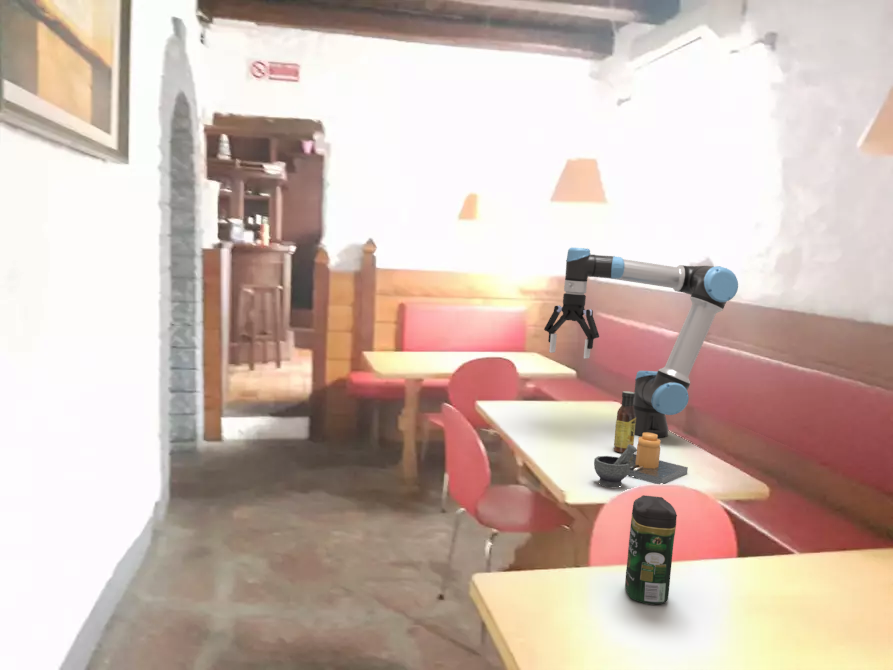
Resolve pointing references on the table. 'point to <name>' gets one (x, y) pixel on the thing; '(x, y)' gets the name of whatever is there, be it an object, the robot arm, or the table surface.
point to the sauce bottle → (625, 423)
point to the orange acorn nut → (648, 450)
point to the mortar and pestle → (613, 467)
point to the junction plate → (656, 471)
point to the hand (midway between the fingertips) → (569, 355)
